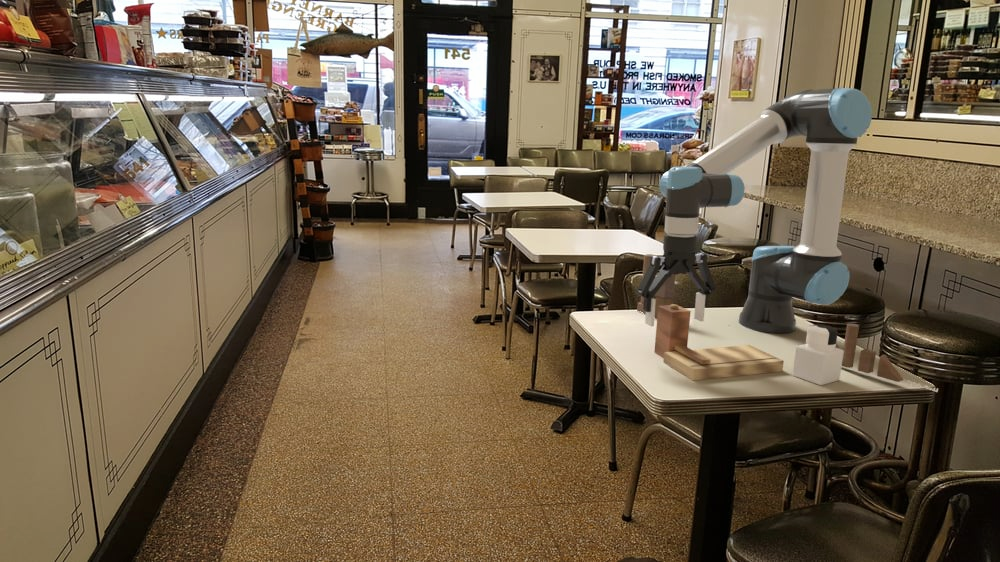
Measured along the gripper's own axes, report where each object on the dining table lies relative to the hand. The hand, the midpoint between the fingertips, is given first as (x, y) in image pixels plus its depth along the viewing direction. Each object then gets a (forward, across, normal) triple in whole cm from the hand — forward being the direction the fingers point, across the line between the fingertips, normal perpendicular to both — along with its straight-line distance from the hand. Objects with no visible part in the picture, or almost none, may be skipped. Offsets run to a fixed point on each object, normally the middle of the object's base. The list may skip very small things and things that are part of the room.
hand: (674, 322), depth 163 cm
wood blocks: (+10, -39, +23) cm, 47 cm away
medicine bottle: (+9, -24, +21) cm, 33 cm away
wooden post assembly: (+9, -14, -32) cm, 36 cm away
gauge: (+8, +1, 0) cm, 9 cm away
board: (+9, -7, +10) cm, 15 cm away
